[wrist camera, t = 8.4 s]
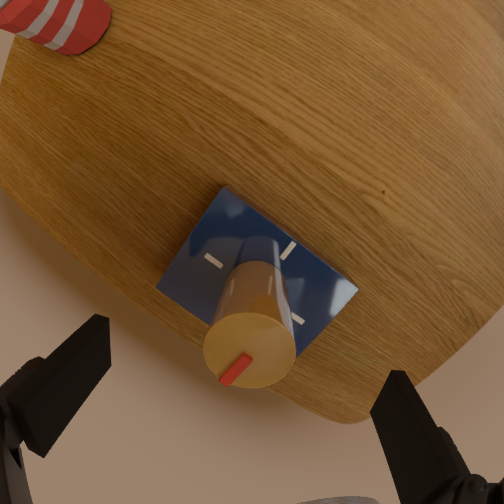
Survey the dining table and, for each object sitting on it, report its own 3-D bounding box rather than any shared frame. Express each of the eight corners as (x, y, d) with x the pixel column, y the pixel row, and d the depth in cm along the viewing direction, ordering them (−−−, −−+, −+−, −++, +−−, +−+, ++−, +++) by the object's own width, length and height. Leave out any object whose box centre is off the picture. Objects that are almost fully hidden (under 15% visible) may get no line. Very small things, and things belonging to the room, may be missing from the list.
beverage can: (58, 26, 19) (-19, -11, 7) (110, -8, 18) (43, -65, 6) (64, 68, 20) (-25, 38, 9) (120, 33, 19) (42, -26, 8)
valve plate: (349, 275, 24) (360, 289, 21) (281, 351, 26) (283, 372, 23) (228, 184, 23) (222, 186, 20) (167, 274, 25) (154, 288, 22)
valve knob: (249, 247, 21) (237, 296, 13) (300, 284, 21) (316, 349, 13) (213, 295, 22) (184, 362, 14) (262, 328, 22) (258, 405, 14)
